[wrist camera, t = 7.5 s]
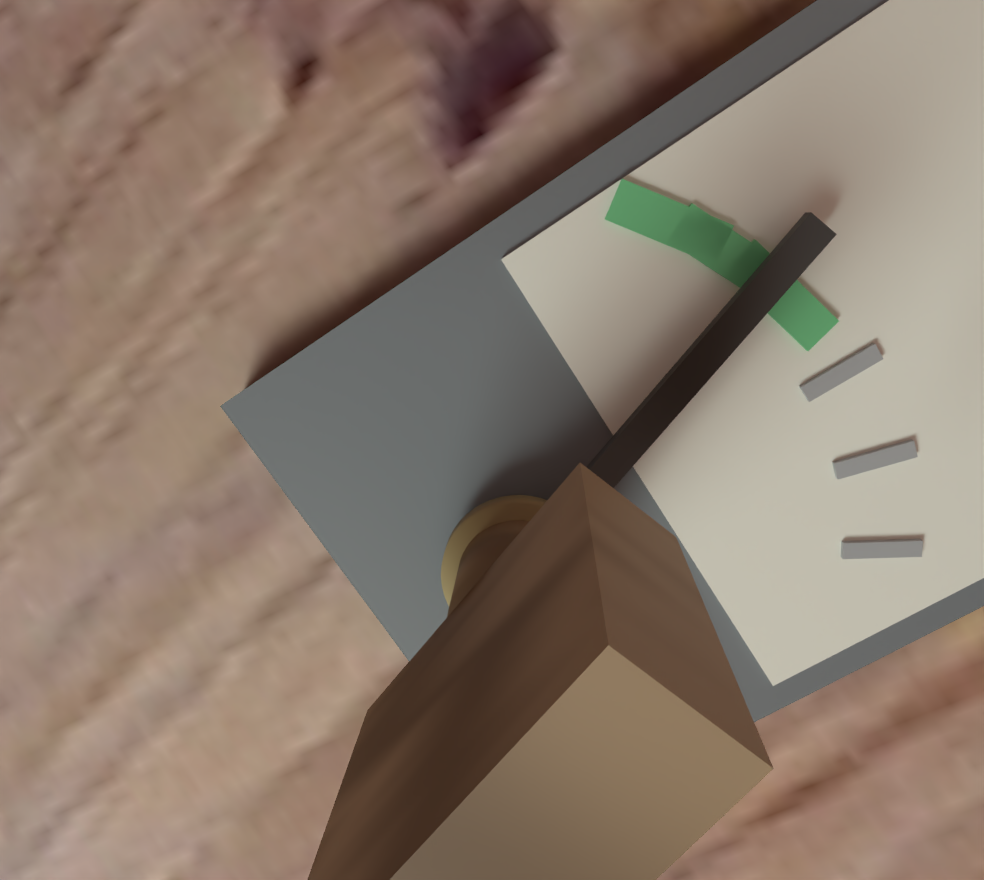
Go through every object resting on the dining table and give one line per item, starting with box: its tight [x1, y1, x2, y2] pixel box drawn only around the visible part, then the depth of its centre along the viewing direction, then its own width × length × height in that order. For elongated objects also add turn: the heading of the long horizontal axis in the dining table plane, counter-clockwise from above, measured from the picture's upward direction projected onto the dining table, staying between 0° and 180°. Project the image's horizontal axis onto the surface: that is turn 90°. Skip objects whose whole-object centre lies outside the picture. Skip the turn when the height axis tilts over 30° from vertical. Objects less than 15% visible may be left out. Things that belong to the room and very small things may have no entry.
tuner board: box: [221, 0, 984, 722], centre depth 20 cm, size 14×19×2 cm
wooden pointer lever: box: [308, 212, 837, 880], centre depth 14 cm, size 14×4×10 cm, turn 142°
